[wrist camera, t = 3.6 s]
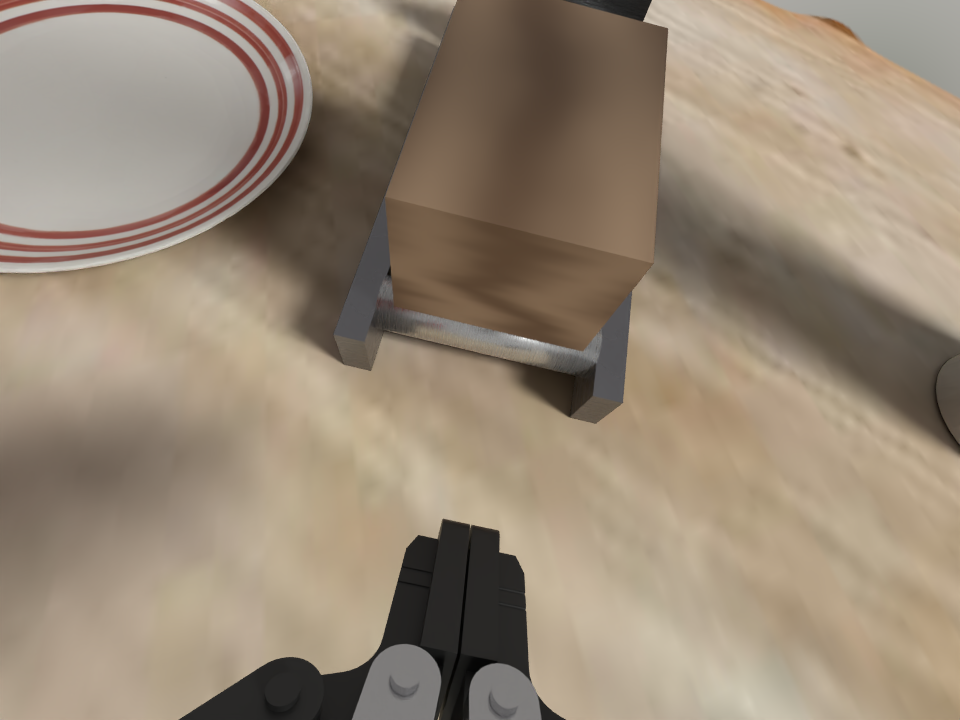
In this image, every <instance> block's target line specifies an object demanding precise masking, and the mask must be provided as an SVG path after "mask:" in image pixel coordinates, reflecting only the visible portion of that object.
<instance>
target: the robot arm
mask: <svg viewBox="0 0 960 720" xmlns="http://www.w3.org/2000/svg"><path fill="white" fill-rule="evenodd" d="M936 393H937V401H938V405H939V408H940V411H941V414H942V416H943V419H944V421H945V423H946V425H947V427H948V429H949V430H950V432H951V433H952V435H953V436H954V437H955V439H956V440H957V442H958V443H959V444H960V355H957V356H955V357H953V358H951V359H949V360H948V361H947V362H946V363H945V364H944V365H943V366H942V368H941V370H940V372H939V374H938V377H937V384H936ZM499 538H500V534H499V531H498V530H493V529H489V528H484V527H479V526H475V525H471V528H470V524H465V523H460V522H456V521H451V520H447V519H443V520H442V523H441V527H440V531H439V535H438V539H434V538H429V537H425V536H420V535H418V536H417V537H416V538H415V539H414V541H413V542H412V543H411V544H410V545H409V546H408V547H407V548H406V552H405V556H404V559H403V563H402V567H401V571H400V575H399V578H398V582H397V586H396V590H395V594H394V597H393V601H392V605H391V609H390V613H389V616H388V620H387V624H386V628H385V632H384V635H383V639H382V642H381V645H380V647H379V648H378V650H377V652H376V653H375V654H374V656H373V657H372V658H371V659H370V660H369V661H367V662H366V663H364V664H363V665H361V666H359V667H358V668H355V669H353V670H350V671H346V672H340V673H333V674H326V675H321V674H320V673H319V671H318V670H317V668H316V667H315V666H314V665H312V664H311V663H310V662H308V661H306V660H304V659H300V658H295V657H286V658H280V659H276V660H273V661H271V662H269V663H267V664H265V665H263V666H262V667H260V668H259V669H257V670H255V671H254V672H252V673H251V674H249V675H248V676H246V677H245V678H243V679H241V680H240V681H238V682H237V683H235V684H234V685H232V686H231V687H229V688H227V689H226V690H224V691H223V692H221V693H220V694H218V695H217V696H215V697H213V698H212V699H210V700H209V701H207V702H206V703H204V704H202V705H201V706H199V707H198V708H196V709H195V710H193V711H192V712H190V713H188V714H187V715H185V716H184V717H182V718H181V719H179V720H437V719H438V716H439V720H565V719H564V718H562V717H560V716H559V715H557V714H556V713H554V712H553V711H552V710H551V709H549V708H548V707H547V706H546V705H545V704H544V703H543V701H542V700H541V699H540V697H539V696H538V695H537V693H536V690H535V688H534V687H533V685H532V682H531V679H530V674H529V662H528V641H527V621H526V611H525V609H526V600H525V580H524V572H523V570H522V568H521V566H520V564H519V562H518V560H517V558H516V556H513V555H509V554H504V553H499ZM439 713H440V715H439Z"/></svg>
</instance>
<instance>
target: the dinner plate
mask: <svg viewBox="0 0 960 720" xmlns="http://www.w3.org/2000/svg"><path fill="white" fill-rule="evenodd" d="M312 100H313V92H312V83H311V77H310V73H309V69H308V66H307V63H306V61H305V58H304V56H303V54H302V52H301V50H300V48H299V46H298V45H297V43H296V42H295V40H294V39H293V37H292V36H291V34H290V33H289V32H288V31H287V30H286V28H285V27H284V26H283V25H282V24H281V23H280V22H279V21H278V20H277V19H276V18H275V17H274V16H273V15H271V14H270V13H269V12H268V11H267V10H266V9H264V8H263V7H262V6H260V5H259V4H258V3H256V2H255V1H253V0H0V273H45V272H57V271H69V270H77V269H83V268H90V267H96V266H102V265H107V264H111V263H116V262H120V261H124V260H129V259H133V258H136V257H139V256H143V255H146V254H150V253H153V252H156V251H159V250H162V249H165V248H167V247H170V246H173V245H176V244H178V243H180V242H183V241H185V240H187V239H189V238H192V237H194V236H196V235H198V234H200V233H202V232H204V231H206V230H209V229H211V228H212V227H214V226H215V225H217V224H219V223H220V222H222V221H224V220H225V219H227V218H228V217H231V216H232V215H234V214H235V213H237V212H239V211H240V210H241V209H243V208H244V207H245V206H247V205H248V204H249V203H251V202H252V201H253V200H254V199H256V198H257V197H258V196H259V195H260V194H262V193H263V192H264V191H265V190H266V189H267V188H268V187H270V186H271V185H272V183H273V182H274V181H275V180H276V179H277V178H278V177H279V176H280V175H281V174H282V173H283V171H284V170H285V169H286V168H287V166H288V165H289V164H290V162H291V161H292V160H293V158H294V157H295V155H296V154H297V152H298V150H299V148H300V146H301V144H302V142H303V140H304V137H305V135H306V132H307V129H308V125H309V122H310V119H311V113H312Z"/></svg>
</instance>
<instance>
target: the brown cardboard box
mask: <svg viewBox="0 0 960 720" xmlns="http://www.w3.org/2000/svg"><path fill="white" fill-rule="evenodd" d="M667 38H668V28H664V27H661V26H657V25H653V24H650V23H646V22H642V21H638V20H635V19H631V18H627V17H623V16H620V15H616V14H612V13H608V12H605V11H601V10H597V9H593V8H590V7H586V6H582V5H578V4H575V3H571V2H567V1H563V0H457V2H456V5H455V8H454V11H453V13H452V16H451V19H450V21H449V24H448V27H447V30H446V32H445V35H444V38H443V40H442V43H441V46H440V49H439V51H438V54H437V57H436V59H435V62H434V65H433V68H432V70H431V73H430V76H429V78H428V81H427V84H426V87H425V89H424V92H423V95H422V98H421V100H420V103H419V106H418V108H417V111H416V114H415V117H414V119H413V122H412V125H411V127H410V130H409V133H408V136H407V138H406V141H405V144H404V146H403V149H402V152H401V155H400V157H399V160H398V163H397V165H396V168H395V171H394V174H393V176H392V179H391V182H390V185H389V187H388V190H387V193H386V195H385V203H386V216H387V228H388V240H389V253H390V265H391V277H392V290H393V302H394V306H395V307H399V308H403V309H407V310H411V311H416V312H420V313H424V314H428V315H432V316H436V317H441V318H445V319H449V320H453V321H457V322H461V323H466V324H470V325H474V326H478V327H482V328H486V329H490V330H495V331H499V332H503V333H507V334H511V335H515V336H520V337H524V338H528V339H532V340H536V341H540V342H545V343H549V344H553V345H557V346H561V347H565V348H570V349H574V350H578V351H582V352H583V351H584V350H585V348H586V347H587V346H588V345H589V343H590V342H591V341H592V340H593V338H594V337H595V336H596V335H597V333H598V332H599V331H600V330H601V328H602V327H603V326H604V325H605V323H606V322H607V321H608V320H609V318H610V317H611V316H612V315H613V313H614V312H615V311H616V310H617V308H618V307H619V306H620V305H621V303H622V302H623V301H624V300H625V298H626V297H627V296H628V295H629V294H630V292H631V291H632V290H633V289H634V287H635V286H636V285H637V284H638V282H639V281H640V280H641V279H642V277H643V276H644V275H645V274H646V272H647V271H648V270H649V269H650V267H651V266H652V265H653V264H654V249H655V232H656V216H657V200H658V184H659V168H660V151H661V135H662V119H663V103H664V86H665V70H666V54H667Z"/></svg>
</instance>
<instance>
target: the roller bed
mask: <svg viewBox="0 0 960 720" xmlns="http://www.w3.org/2000/svg"><path fill="white" fill-rule="evenodd" d="M563 1H567V2H571V3H575V4H578V5H582V6H586V7H590V8H593V9H597V10H601V11H605V12H608V13H612V14H616V15H620V16H623V17H627V18H631V19H635V20H638V21H642V22H643V20H644V18H645V15H646V13H647V11H648V8H649V6H650V4H651V1H652V0H563ZM454 8H455V6H454ZM453 11H454V9H453ZM453 11H452V13H453ZM451 16H452V14H451ZM450 19H451V17H450ZM449 21H450V20H449ZM448 24H449V22H448ZM447 27H448V25H447ZM446 30H447V28H446ZM446 30H445V32H446ZM444 35H445V33H444ZM443 38H444V36H443ZM443 38H442V40H443ZM441 43H442V41H441ZM440 46H441V44H440ZM439 49H440V47H439ZM439 49H438V51H439ZM437 54H438V52H437ZM436 57H437V55H436ZM436 57H435V59H436ZM434 62H435V60H434ZM433 65H434V63H433ZM432 68H433V66H432ZM432 68H431V70H432ZM430 73H431V71H430ZM429 76H430V74H429ZM429 76H428V78H429ZM427 81H428V79H427ZM426 84H427V82H426ZM425 87H426V85H425ZM425 87H424V89H425ZM423 92H424V90H423ZM422 95H423V93H422ZM422 95H421V98H422ZM421 98H420V100H421ZM419 103H420V101H419ZM418 106H419V104H418ZM418 106H417V108H418ZM416 111H417V109H416ZM415 114H416V112H415ZM415 114H414V117H415ZM414 117H413V119H414ZM412 122H413V120H412ZM411 125H412V123H411ZM411 125H410V127H411ZM409 130H410V128H409ZM408 133H409V131H408ZM408 133H407V136H408ZM407 136H406V138H407ZM405 141H406V139H405ZM404 144H405V142H404ZM404 144H403V146H404ZM402 149H403V147H402ZM401 152H402V150H401ZM401 152H400V155H401ZM400 155H399V157H400ZM398 160H399V158H398ZM397 163H398V161H397ZM397 163H396V165H397ZM395 168H396V166H395ZM394 171H395V169H394ZM394 171H393V174H394ZM393 174H392V176H393ZM391 179H392V177H391ZM391 179H390V182H391ZM390 182H389V185H390ZM389 185H388V187H389ZM387 190H388V188H387ZM387 190H386V193H387ZM386 193H385V195H386ZM631 296H632V291H631V292H630V294H629V295H628V296H627V297H626V298H625V300H624V301H623V302H622V303H621V305H620V306H619V307H618V308H617V310H616V311H615V312H614V313H613V315H612V316H611V317H610V318H609V320H608V321H607V322H606V323H605V325H604V326H603V327H602V328H601V330H600V331H599V332H598V333H597V335H596V336H595V337H594V338H593V340H592V341H591V342H590V343H589V345H588V346H587V347H586V348H585V350H584V351H583V352H582V351H578V350H574V349H570V348H565V347H561V346H557V345H553V344H549V343H545V342H540V341H536V340H532V339H528V338H524V337H520V336H515V335H511V334H507V333H503V332H499V331H495V330H490V329H486V328H482V327H478V326H474V325H470V324H466V323H461V322H457V321H453V320H449V319H445V318H441V317H436V316H432V315H428V314H424V313H420V312H416V311H411V310H407V309H403V308H399V307H395V306H394V302H393V290H392V277H391V265H390V253H389V240H388V228H387V216H386V203H385V196H384V198H383V201H382V204H381V207H380V209H379V212H378V215H377V217H376V220H375V223H374V226H373V228H372V231H371V234H370V236H369V239H368V242H367V245H366V247H365V250H364V253H363V255H362V258H361V261H360V264H359V266H358V269H357V272H356V274H355V277H354V280H353V283H352V285H351V288H350V291H349V293H348V296H347V299H346V301H345V304H344V307H343V310H342V312H341V315H340V318H339V320H338V323H337V326H336V329H335V331H334V334H333V335H334V338H335V341H336V343H337V346H338V349H339V352H340V355H341V357H342V360H343V363H344V365H348V366H353V367H357V368H361V369H366V370H370V371H371V369H372V366H373V363H374V360H375V357H376V354H377V350H378V347H379V344H380V341H381V338H382V335H383V332H384V330H386V331H390V332H394V333H398V334H402V335H407V336H411V337H415V338H419V339H423V340H428V341H432V342H436V343H440V344H444V345H449V346H453V347H457V348H461V349H465V350H470V351H474V352H478V353H482V354H486V355H491V356H495V357H499V358H503V359H507V360H512V361H516V362H520V363H524V364H528V365H533V366H537V367H541V368H545V369H549V370H554V371H558V372H562V373H566V374H570V375H575V381H574V389H573V396H572V404H571V412H570V418H574V419H579V420H583V421H587V422H591V423H597V422H599V421H600V420H601V419H602V418H604V417H605V416H606V415H608V414H609V413H610V412H612V411H613V410H614V409H616V408H617V407H618V406H620V405H621V404H622V403H623V394H624V382H625V370H626V357H627V345H628V333H629V321H630V309H631Z"/></svg>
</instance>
